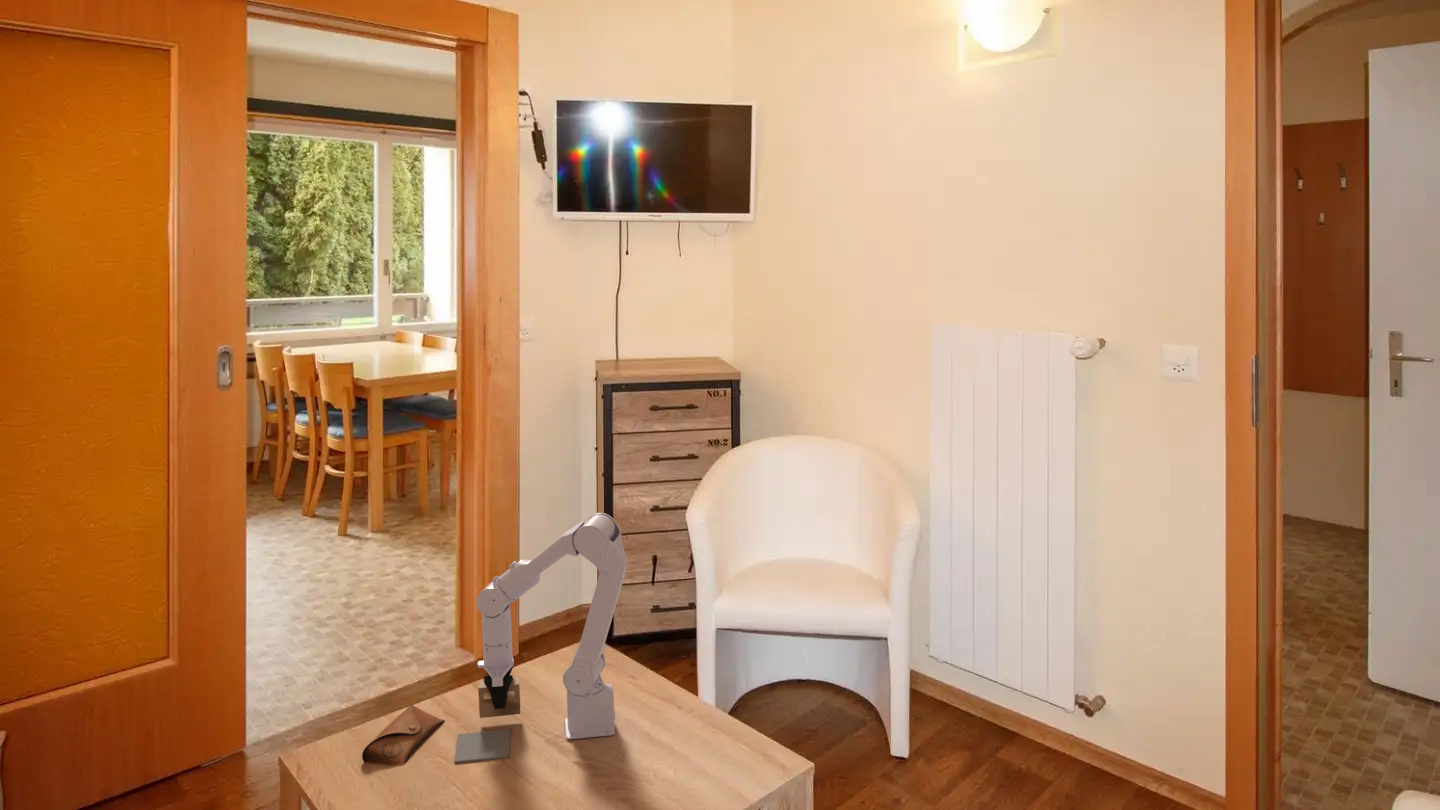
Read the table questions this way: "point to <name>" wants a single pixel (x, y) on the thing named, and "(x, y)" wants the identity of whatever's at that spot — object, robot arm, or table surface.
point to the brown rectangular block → (511, 704)
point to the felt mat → (482, 746)
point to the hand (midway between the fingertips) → (500, 703)
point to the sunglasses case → (401, 737)
